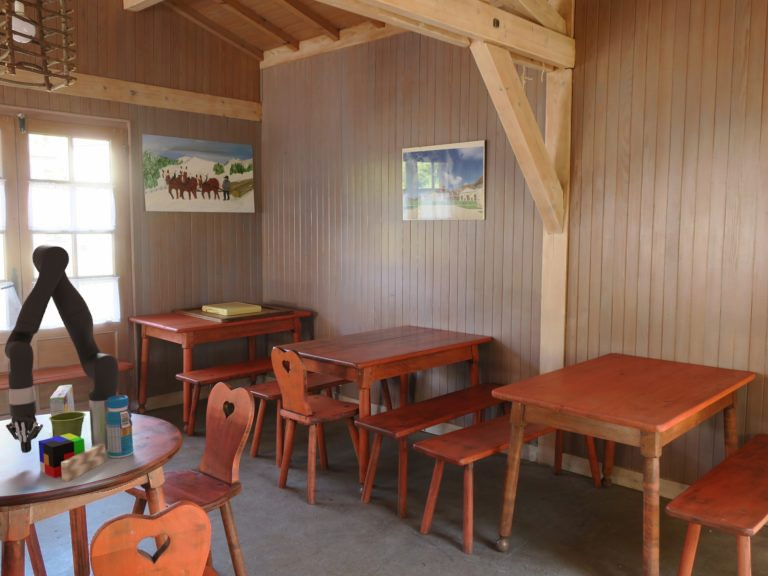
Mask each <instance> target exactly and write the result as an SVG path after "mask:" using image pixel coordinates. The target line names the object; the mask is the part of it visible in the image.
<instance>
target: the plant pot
mask: <svg viewBox="0 0 768 576" xmlns="http://www.w3.org/2000/svg"><path fill="white" fill-rule="evenodd" d="M85 416H86V413H85V412H83V411H75V412H65V413H59V414H55V415H53V416H51V415H50V416H49V417H48V421H50V423H51V427H52V426H53V429H54V434H55V436H54V437H57V436H61V435H65V434H69V433H70V434H73V435H75V436H78V437H81V438H82V431H83V424H84V421H85V420H84V419H85Z"/></svg>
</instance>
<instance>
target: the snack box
mask: <svg viewBox="0 0 768 576" xmlns="http://www.w3.org/2000/svg"><path fill="white" fill-rule="evenodd" d="M49 408H50V417H51V416H53V415H55V414H59V413H65V412H76V411H75V401H74V389H73V384H63V385H59V386H58V387H57V388H56V390H55V391H53V394H52V395H51V396H50V397H49ZM51 430H52V437H55V434H54V429H53V426H52V425H51Z"/></svg>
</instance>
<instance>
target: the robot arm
mask: <svg viewBox="0 0 768 576" xmlns="http://www.w3.org/2000/svg"><path fill="white" fill-rule="evenodd" d="M31 259H32V264H33V266H34V268H35V269H36V270H37V272H38V277H37V279H36V282H35V284H34V286H33V288H32V289H31V291H30V292H29V294H28V296H26V298H25V300H24V301H23V304H22V306H21V308H20V311H19V313H18V316H17V318H16V323H15V326H14V327H13V329H12V331H11V333H10V335H9V337H8V338H7V340H6V343H5V347H4V354H5V356H6V357H7V358H8V359H9V369H10V371H9V372H8V376H7V377H8V389H9V390H8V400H9V401H8V402H9V403H8V404H9V413H10V414H9V415H10V416H11V422H9V423H7V424H6V425H5V428H6V429H7V430H8V432H9V433H10V434H11V436H12V437H13V439H14V440H17V441H19V442H20V451H21V452H22V453H24V454H28V453H29V452H31V450H32V440H35V439H36V438H37V437H38V435H39V433H41V431H42V429H43V427H44V424H43V423H40V424H39V423H38V422H37V418H36V413H37V403H36V402H37V401H36V400H37V399H36V390H35V384H34V376H33V375H34V374H33V370H34V349H33V347H32V345H31V344H32V340H33V338H34V336H35V335H36V334H38V331H39V330H40V329H41V326H42V325H41V324H42V321H43V319H44V316H45V314H46V310H47V308H48V305H49V303H50V300H51V299H52V301H53V303H54V306H55V308H56V310H57V313H58V315H59V317H60V319H61V321H62V323H63V326H64V328H65V329H66V331H67V333H68V335H69V337H70V339H71V341H72V344H73V345H74V347H75V350H76V353H77V356H78V359H79V362H80V365H81V368H82V370H83V372H84V374H85V375H86V376H87V377H89V378H91V379H94V382H93V383H94V384H93V385H94V386H93V389H91V390H89V392H88V408H89V423H90V439H91V442H90V443H91V447H93V446H96V445H98V444H105V449H108V443H107V429H106V423H107V420H106V415H107V413H108V411H109V410H110V409H108V406H107V399H108V398H109V397H113V396H118V394H117V393H118V390H119V386H120V384H119V381H120V379H119V378H120V377H119V376H120V374H119V363H118V360H117V358H116V357H115V356H113V355H112V354H108V353H103V352H102V351H101V350H100V348H99V347H98V345H97V342H96V340H95V337H94V318H93V315H92V313H91V310H90V308H89V306H88V304H87V302H86V301H85V299H84V297H83V296H82V294H80V292H79V291H78V289H77V288H76V287H75V286H74V285H73V283H72V282H71V281H70V278H69V277H68V275H67V273H66V272H67V271H66V269H67V268H68V266H69V262H70V256H69V252H68V251H67V250H66V249H65V248H63V247H62V246H59V245H56V244H54V245H52V244H42V245H39V246H37V247H36V248H35V249H34V250H33V253H32V256H31Z"/></svg>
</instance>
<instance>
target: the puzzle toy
mask: <svg viewBox="0 0 768 576" xmlns="http://www.w3.org/2000/svg"><path fill="white" fill-rule="evenodd" d="M85 448H86V447H85V439H84V438H82V436H81V437H78V436H75V435H73V434H70V433H69V434H65V435H61V436H57V437H55V436H52V437H49V438H45V439H40V440H38V456H39V468H40V472H41V473H44V474H45V475H48V476H49V477H52V478H54V479H55V478H56V479H57V478H60V477H62V471H61V462H63V461H65V460H67V459H69V458H71V457H73V456H75V455H77V454H79V453H81V452H83V451H85V450H86V449H85Z"/></svg>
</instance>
